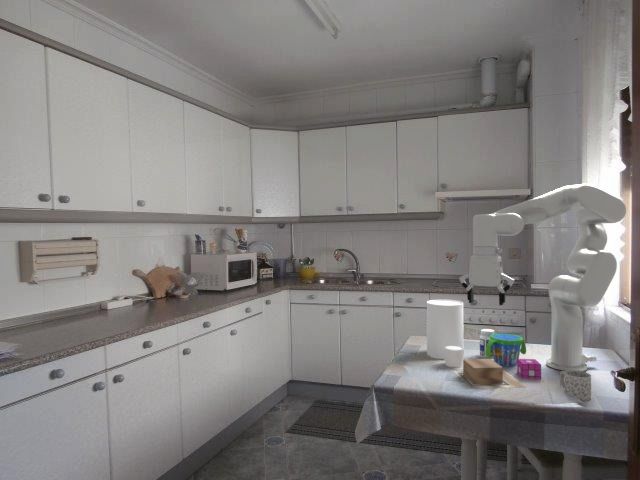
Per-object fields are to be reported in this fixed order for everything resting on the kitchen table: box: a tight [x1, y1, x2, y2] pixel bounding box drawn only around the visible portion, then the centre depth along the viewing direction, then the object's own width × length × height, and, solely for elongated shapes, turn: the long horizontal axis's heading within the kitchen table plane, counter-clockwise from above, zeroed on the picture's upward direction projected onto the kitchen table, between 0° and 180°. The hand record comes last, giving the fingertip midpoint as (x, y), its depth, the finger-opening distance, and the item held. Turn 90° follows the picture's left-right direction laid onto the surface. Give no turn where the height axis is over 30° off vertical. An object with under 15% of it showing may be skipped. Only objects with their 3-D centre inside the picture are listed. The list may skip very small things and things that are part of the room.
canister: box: [426, 299, 464, 360], centre depth 174 cm, size 14×14×20 cm
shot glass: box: [444, 345, 465, 368], centre depth 159 cm, size 7×7×7 cm
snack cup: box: [486, 333, 527, 367], centre depth 160 cm, size 16×10×10 cm
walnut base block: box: [462, 358, 504, 384], centre depth 144 cm, size 9×9×5 cm
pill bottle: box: [479, 328, 495, 359], centre depth 171 cm, size 6×6×10 cm
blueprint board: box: [453, 369, 528, 390], centre depth 144 cm, size 17×16×1 cm
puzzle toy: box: [516, 358, 542, 380], centre depth 147 cm, size 6×6×6 cm
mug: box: [559, 370, 592, 402], centre depth 133 cm, size 10×7×7 cm, turn 12°
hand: (486, 303), depth 150 cm, fingers open, 9 cm apart
